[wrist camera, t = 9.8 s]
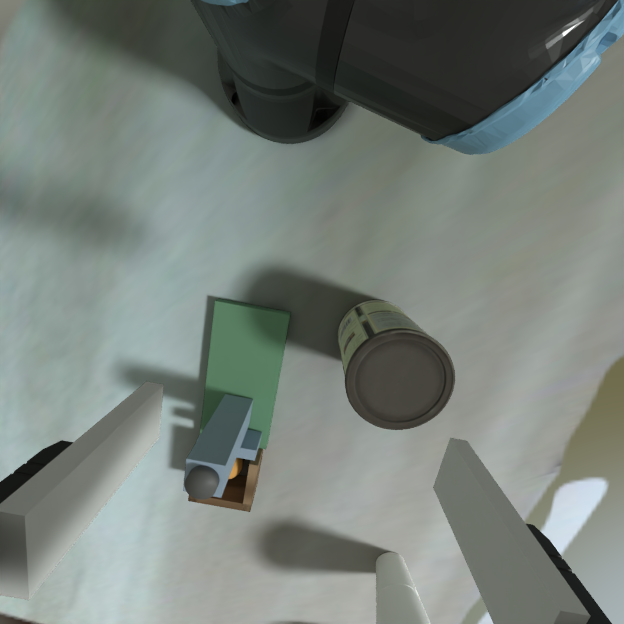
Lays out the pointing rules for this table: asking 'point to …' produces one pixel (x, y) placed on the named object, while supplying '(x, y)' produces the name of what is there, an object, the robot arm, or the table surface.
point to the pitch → (245, 360)
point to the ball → (236, 468)
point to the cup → (397, 593)
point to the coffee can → (393, 367)
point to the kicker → (221, 448)
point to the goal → (238, 489)
